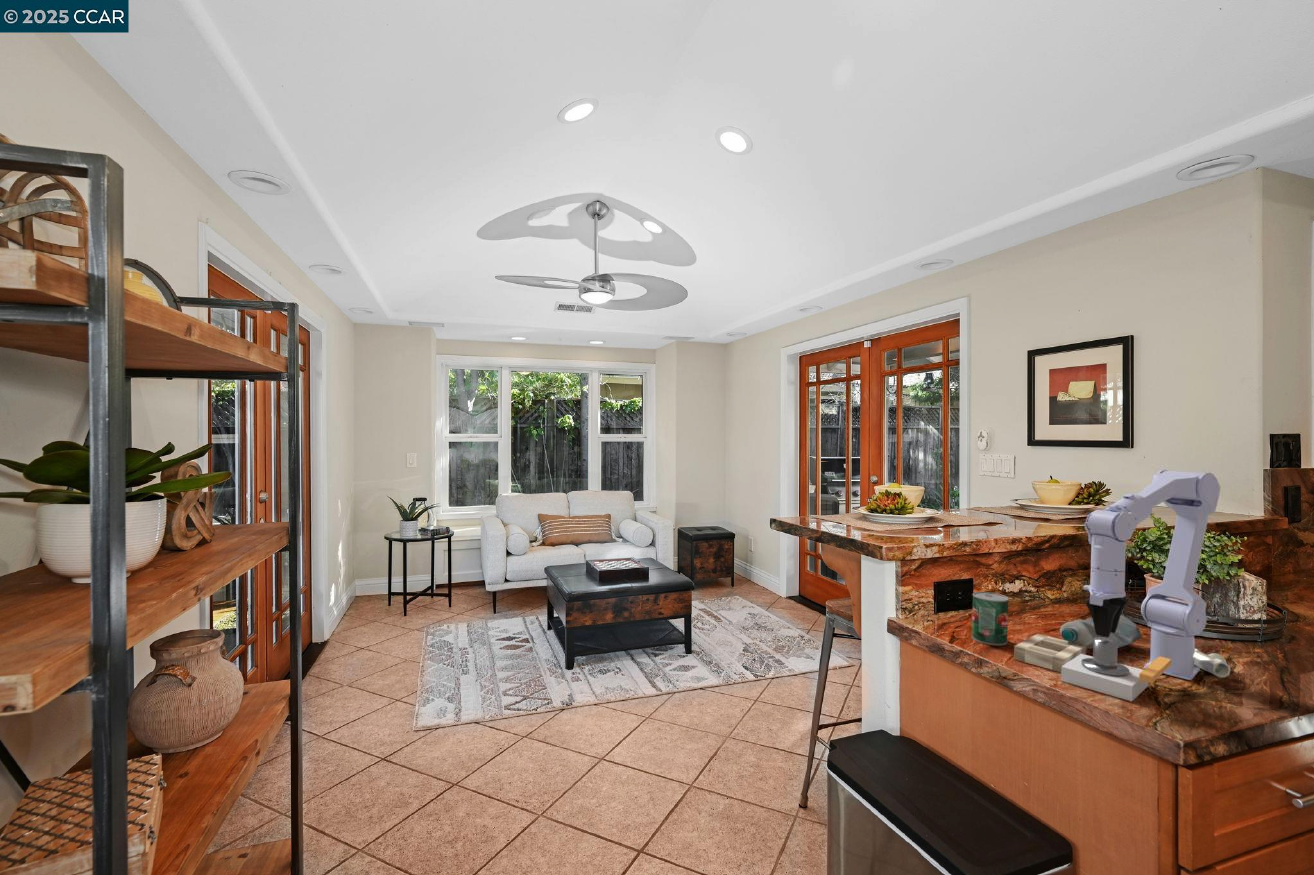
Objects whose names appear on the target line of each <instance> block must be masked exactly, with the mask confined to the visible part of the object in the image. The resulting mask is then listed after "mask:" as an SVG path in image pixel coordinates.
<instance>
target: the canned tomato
mask: <svg viewBox="0 0 1314 875" xmlns="http://www.w3.org/2000/svg"><path fill="white" fill-rule="evenodd" d="M1009 600H1010V599H1009V597H1008V596H1005V595H1003V594H1000V593H995V592H988V591H976V592H973V593H972V623H971V638H972V639H973V640H974V641H976V642H977V643H980V644H984V645H990V646H1005V645H1007V644H1008V643H1009V642H1008V636H1009V635H1008V633H1009Z"/></svg>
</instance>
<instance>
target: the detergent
mask: <svg viewBox="0 0 1314 875" xmlns="http://www.w3.org/2000/svg"><path fill="white" fill-rule="evenodd" d="M1059 633H1060V635H1061V637H1062V640H1065V641H1068V642H1073V643H1077V644H1081V645H1086V650H1087V649H1094V638H1095V637H1104V636H1100V635H1096V632H1095V628H1094V623H1093V619H1092V617H1089V618H1086V619H1075V620H1073V621H1072V620H1071V621H1067V622H1066V623H1064V624H1062V625H1061V627H1060V628H1059ZM1104 638H1109V639H1112V640H1115V641H1117V642H1118V649H1119V648H1122V647H1125V646H1128V645H1131V644H1133V643H1135V642H1136V641H1138V640H1140V639H1142V638H1143V635H1142V634H1141V631H1140V629H1139V626H1138V625H1137V624H1136V623H1135V621H1133V620H1132V619H1130V618H1128V617H1127V616H1125V615H1123V614H1121V616H1120V619H1119V623H1118V626H1117V629H1116V632H1115V633H1112V632H1111V633H1110V635H1109V637H1104Z"/></svg>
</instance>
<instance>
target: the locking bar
mask: <svg viewBox="0 0 1314 875" xmlns="http://www.w3.org/2000/svg"><path fill="white" fill-rule="evenodd" d="M1170 666H1171V659H1168V658H1164V657H1160V656H1159V657H1158V658H1157V659H1156V660H1154V661H1153V662H1152V663H1151V664H1150V665H1149V666H1148V667H1147V668H1143V669H1142V670H1143V671H1142V672H1141V673H1140V674H1139V680H1142V681H1145V682H1148V684H1153V683H1154V682H1155V681H1156V680H1157V679H1159V677H1161V675H1163V674H1164V673H1163V672H1164V671H1165V670H1166V669H1167V668H1169V667H1170Z"/></svg>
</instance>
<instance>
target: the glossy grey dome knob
mask: <svg viewBox="0 0 1314 875" xmlns="http://www.w3.org/2000/svg"><path fill="white" fill-rule="evenodd" d="M1092 649H1093V650H1092V651H1093V652H1092V657H1093V658H1085V659H1082V661H1081V664H1082V666H1083V667H1085V668H1087V669H1089V670H1091V671H1094V672H1097V673H1101V674H1105V675H1111V676H1127V675H1129V669H1128V668H1127V667H1126V666H1127V665H1126V666H1124V665H1125V664H1123V665H1121V664H1122V663H1118V649H1119V648H1118V642H1117V641H1115V640H1112V639H1109V638H1104V637H1095V638H1094V648H1092Z"/></svg>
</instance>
